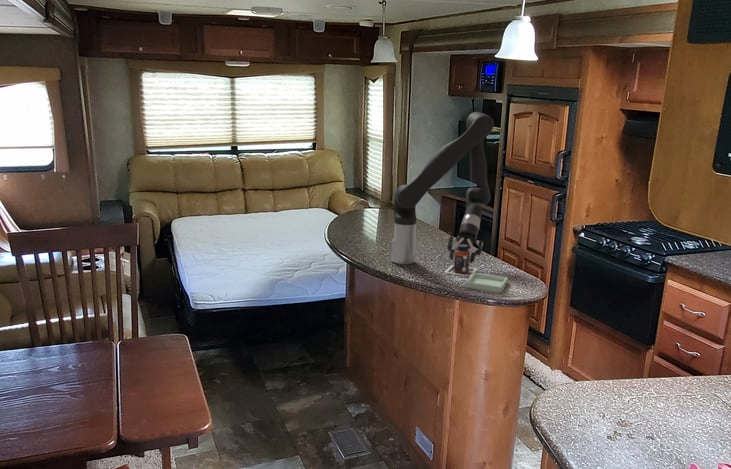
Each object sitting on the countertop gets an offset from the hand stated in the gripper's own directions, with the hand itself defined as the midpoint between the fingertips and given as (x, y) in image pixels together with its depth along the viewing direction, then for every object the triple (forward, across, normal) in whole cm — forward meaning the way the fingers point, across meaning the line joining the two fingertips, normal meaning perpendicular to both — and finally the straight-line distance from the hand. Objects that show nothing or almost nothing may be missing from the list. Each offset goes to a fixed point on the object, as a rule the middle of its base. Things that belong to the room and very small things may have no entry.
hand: (461, 260), depth 234 cm
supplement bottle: (+3, 0, +5) cm, 6 cm away
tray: (+11, +13, -4) cm, 18 cm away
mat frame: (+3, 0, +5) cm, 5 cm away
